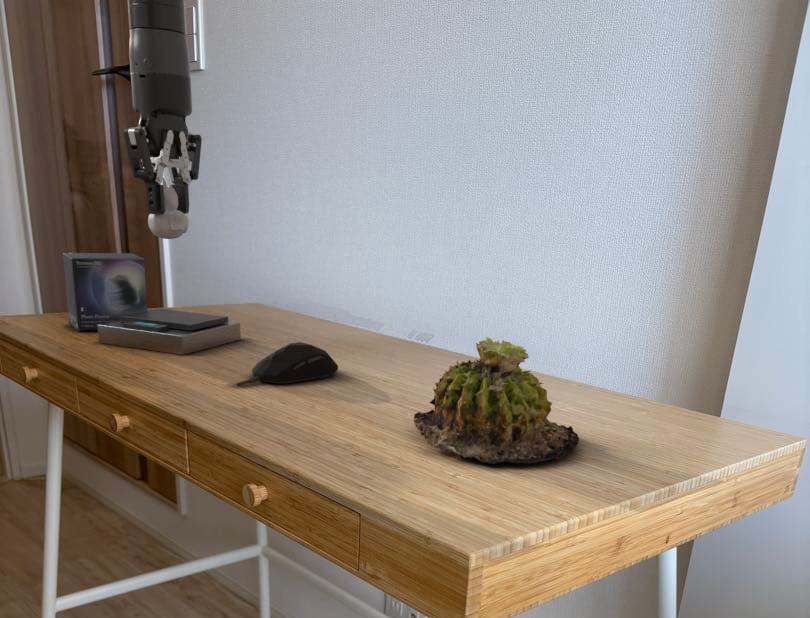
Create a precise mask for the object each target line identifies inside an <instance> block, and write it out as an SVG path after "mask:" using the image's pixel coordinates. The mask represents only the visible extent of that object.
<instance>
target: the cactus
mask: <svg viewBox="0 0 810 618" xmlns="http://www.w3.org/2000/svg"><path fill="white" fill-rule="evenodd" d="M475 348H476V350H477V352H478V353H477V354H478V356H479V358H480V359H475V360H474V361H471V359H469V360H467V361H462V362H460V363H459V362H458V361H456V364H454V365H449V368H448V370H444V373H443V374H442V376H441V374H440V378H438V382H435V383H434V384H435V387H436V388H432V390H433V392H434V395H433V399H431V400H430V401H429V404H431V405H433V406H434V408H433V409H431V410H429V411H427V412H420V411H418V412H416V413H414V415H413V424H414V426H415V428H416V429H417V430H418V431H419V433H420V436H424V440H425V441H426V442H427V444H428V445H430V446H431V447H432V448H433V449H435V448H439V449H440V450H441V451H444V452H446V453H447V454H448V453H449V454H456V455H458V456H461V457H463V458H464V459H466V458H468V459H471V460H474V459H475V460H478V462H480V463H487V464H492V465H496V464H498V463H510V464H527V465H528V464H533V463H539V462H544V461H550V460H561V459H562V458H563V457H565V456H567V455H568V454H571V453H572V452H573V451H574V450H576V449H577V446H578V445H579V442H580V437H579V434H577V432H575V431H574V429H573V427H572V425H570V426H568V427H567V426H565V425H564V424H563V425H562V424H560V425H558V424H557V422H552V421H550V420H549V419H548V416H549V415H550V413H551V412H552V407H551V406H552V405H553V403H552V402H551V401H549V400H548V397H547V396H548V392H547V389H545V388H544V387H542V385H543V384H545V383H544V382H542V381H540V378H538V376H534V374H533V373H531V370H524V371H523V370H522V368H521V367H520V364H521V363H526V361H525V360H527V359H529V358H530V357H529V353H527V349H526V348H524V346H521V345H515V344H514V343H512V342H511V341H505V340H504V339H502V341H501V342H500V341H499V340H494V341H493V339H491V338H490V337H488V336H487V337H486V339H485V340H483V339H482V340H480V341H478V342H475Z"/></svg>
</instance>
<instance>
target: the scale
mask: <svg viewBox="0 0 810 618" xmlns="http://www.w3.org/2000/svg"><path fill="white" fill-rule="evenodd" d="M97 327H98V330H97V335H98V337H97V338H98V343H99V344H104V345H110V346H111V345H113V346H119V347H126V348H132V349H133V348H134V349H139V350H146V351H152V352H153V351H154V352H160V353H167V354H175V355H181V356H183V355H188V354H192V353H195V352H199V351H203V350H206V349H211V348H214V347H218V346H221V345H226V344H229V343H233V342H238V341H240V340H241V339H242V338H241V337H242V336H241V335H242V334H241V322H238V321H230V320H228V322H227V323H223V324H218V325H214V326H210V327H205V328H201V329H196V330H192V331H191V330H183V329H175V328H168V326H167V325H159V324H151V323H144V322H136V321H130V322H122V321H115V322H109V323H104V324H98V325H97Z"/></svg>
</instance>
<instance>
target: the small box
mask: <svg viewBox="0 0 810 618" xmlns="http://www.w3.org/2000/svg"><path fill="white" fill-rule="evenodd" d="M62 259H63V266H64V268H63V269H64V278H65V288H66V289H65V291H66V301H67V309H68V324H69V325H71V326H72V327H73V328H74V329H75V330H77V331H78V332H85V331H86V332H87V331H88V332H89V331H90V332H91V331H98V327H97V325H98V324H104V323H109V322H115V321H120V316H121V315H127V314H132V313H138V312H143V311H148V299H147V297H148V296H147V279H146V263H145V262H146V261H145V258H143V257H142V256H139V255H137V254H135V253H130V252H129V253H124V252H123V253H122V252H121V253H115V252H114V253H113V252H111V253H109V252H107V253H106V252H105V253H104V252H103V253H102V252H63V253H62Z"/></svg>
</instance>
